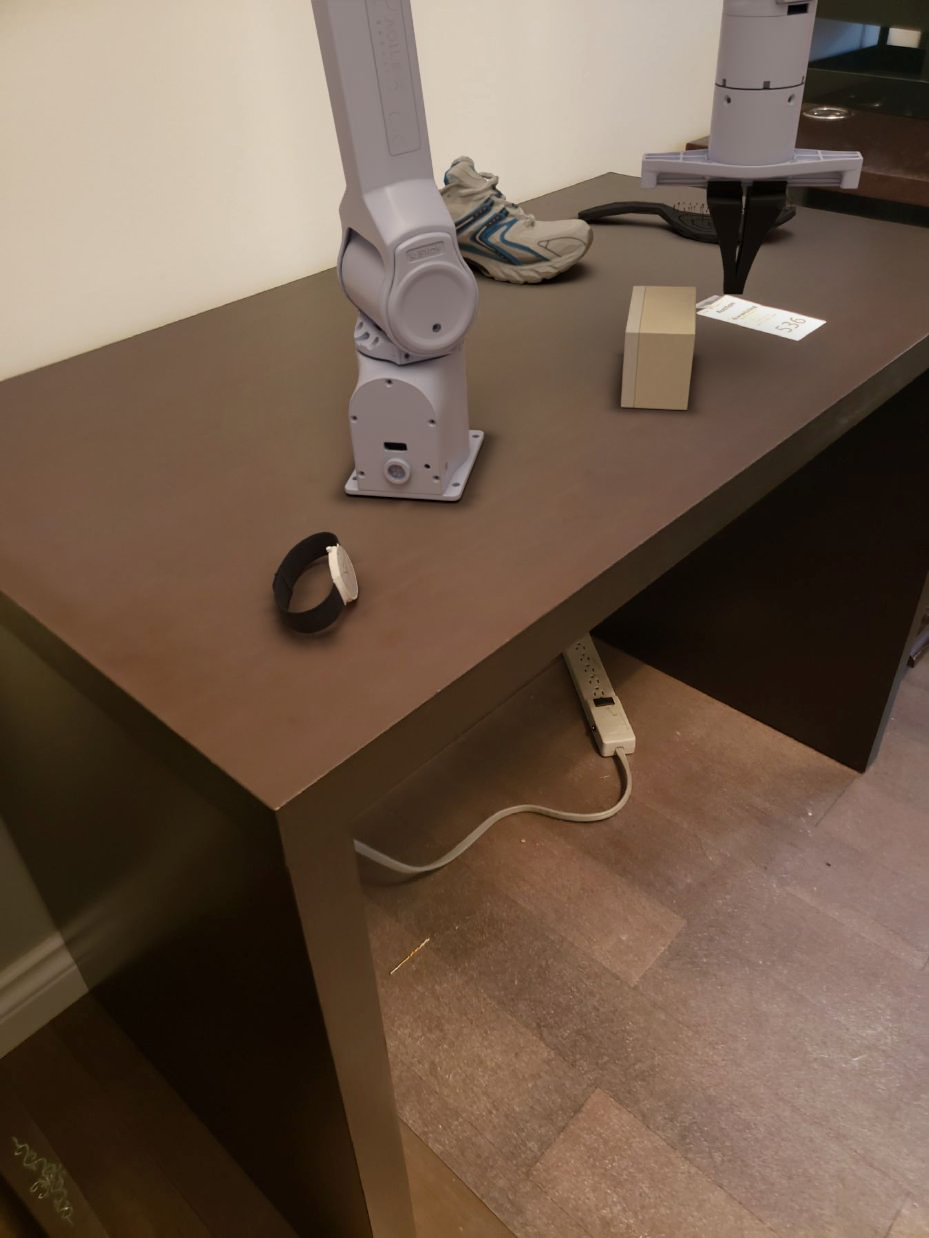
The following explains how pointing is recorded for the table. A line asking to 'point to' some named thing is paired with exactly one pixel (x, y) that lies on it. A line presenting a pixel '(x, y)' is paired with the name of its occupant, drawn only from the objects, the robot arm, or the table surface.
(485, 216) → the athletic shoe
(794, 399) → the table surface
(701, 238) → the hairbrush
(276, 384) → the table surface
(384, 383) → the robot arm
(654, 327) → the tilted tan cardboard box
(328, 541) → the watch
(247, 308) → the table surface
